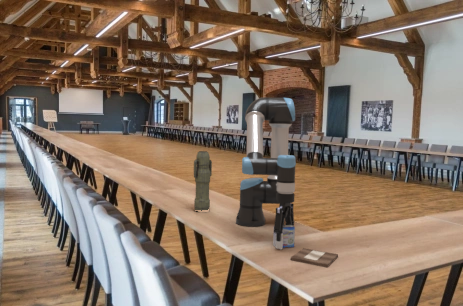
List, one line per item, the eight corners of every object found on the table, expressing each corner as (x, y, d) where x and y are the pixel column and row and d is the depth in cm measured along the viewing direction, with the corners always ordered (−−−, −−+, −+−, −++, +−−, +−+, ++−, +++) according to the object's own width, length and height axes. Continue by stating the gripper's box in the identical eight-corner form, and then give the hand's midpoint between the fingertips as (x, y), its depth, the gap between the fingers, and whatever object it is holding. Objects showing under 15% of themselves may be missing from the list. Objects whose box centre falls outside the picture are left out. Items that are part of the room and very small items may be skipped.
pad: (303, 250, 160) (303, 247, 160) (337, 256, 153) (338, 253, 153) (290, 260, 148) (290, 256, 148) (327, 267, 141) (327, 263, 141)
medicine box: (276, 248, 162) (277, 227, 162) (272, 245, 166) (273, 225, 166) (294, 247, 164) (295, 226, 164) (290, 244, 169) (290, 224, 168)
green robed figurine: (214, 210, 233) (215, 151, 231) (199, 213, 224) (200, 152, 222) (204, 208, 239) (205, 150, 237) (189, 211, 230) (190, 151, 228)
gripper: (286, 188, 175) (285, 238, 177) (266, 194, 156) (264, 250, 158) (303, 190, 172) (301, 241, 173) (283, 196, 153) (281, 254, 154)
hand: (283, 245), depth 165 cm, fingers open, 9 cm apart
